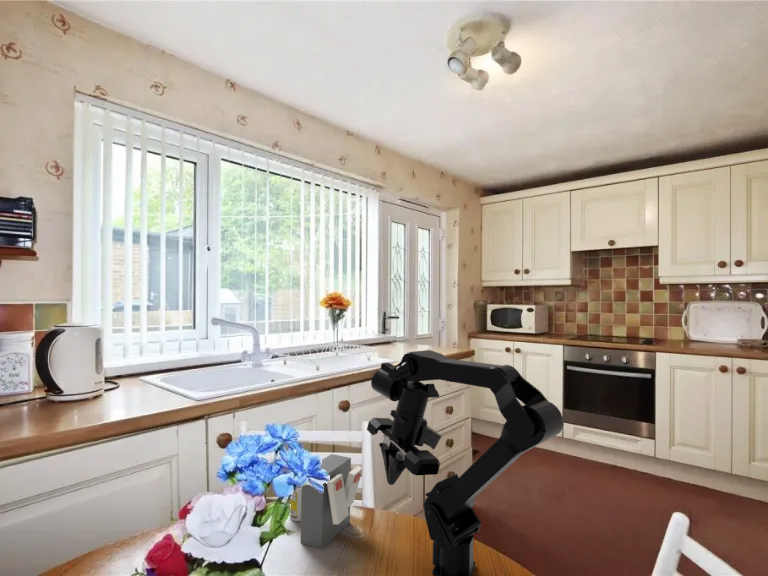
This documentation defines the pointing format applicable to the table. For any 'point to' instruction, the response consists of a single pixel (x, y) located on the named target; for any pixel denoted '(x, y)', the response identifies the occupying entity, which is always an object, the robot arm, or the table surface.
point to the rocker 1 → (337, 499)
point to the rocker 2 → (352, 484)
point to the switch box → (322, 506)
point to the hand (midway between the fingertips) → (390, 483)
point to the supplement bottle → (296, 505)
